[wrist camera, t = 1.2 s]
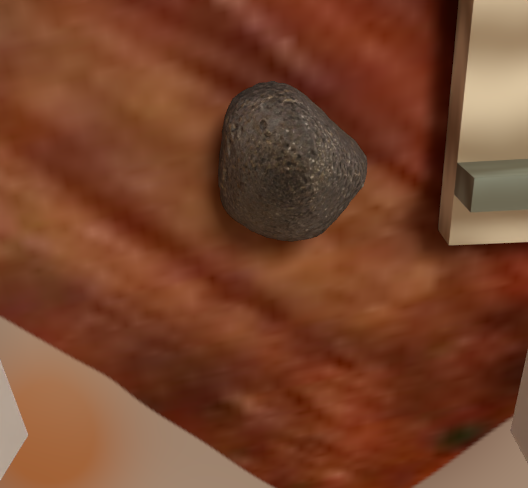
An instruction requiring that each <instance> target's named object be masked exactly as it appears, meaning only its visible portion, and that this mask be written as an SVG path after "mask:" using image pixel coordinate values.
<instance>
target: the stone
mask: <svg viewBox="0 0 528 488" xmlns="http://www.w3.org/2000/svg"><path fill="white" fill-rule="evenodd" d="M366 173H367V158H366V155H365V154H364V153H363V151H362V150H361V148H360V147H359V146H358V144H357V143H356V141H355V140H354V139H353V138H351V137H350V136H349V135H348V134H346V133H345V132H344V131H343V130H341V129H340V128H339V127H338V126H337V125H336V124H335V123H334V122H333V121H332V120H330V119H329V118H328V116H327V115H326V114H325V113H324V112H323V111H322V110H321V109H320V108H319V107H318V106H317V105H316V104H314V103H313V102H312V101H311V100H310V99H309V98H308V97H307V96H306V95H304V94H303V93H302V92H300V91H299V90H297V89H295V88H294V87H292V86H290V85H287V84H284V83H277V82H275V81H271V82H266V83H258V84H256V85H254V86H253V87H250V88H248V89H246V90H244V91H242V92H241V93H239V94H238V95H237V96H235V97H234V98H233V99H232V101H231V103H230V105H229V107H228V109H227V112H226V115H225V119H224V124H223V129H222V142H221V149H220V156H219V169H218V179H219V187H220V198H221V202H222V205H223V207H224V209H225V210H226V212H227V213H228V214H229V215H230V216H231V217H232V218H233V219H234V220H236V221H237V222H239V223H240V224H242V225H243V226H245V227H246V228H248V229H249V230H251V231H253V232H255V233H258V234H260V235H263V236H265V237H267V238H273V239H277V240H282V241H298V240H305V239H309V238H313V237H317V236H318V235H320V234H322V233H323V232H324V231H325V230H326V229H327V228H328V227H329V226H330V225H331V224H332V223H333V222H334V221H335V220H336V219H337V218H338V217H339V215H340V214H341V213H342V212H343V211H344V210H345V209H346V208H347V206H348V204H349V203H350V201H351V200H352V199H353V198H354V197H355V195H356V194H357V193H358V192H359V190H360V189H361V188H362V187H363V185H364V182H365V178H366Z"/></svg>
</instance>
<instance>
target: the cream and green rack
mask: <svg viewBox="0 0 528 488" xmlns="http://www.w3.org/2000/svg"><path fill="white" fill-rule="evenodd" d="M438 230H439V232H440V233H441V235H442V236H443V238H444V239H445V241H446V242H447V244H448V245H469V244H492V243H515V242H528V0H459V3H458V14H457V25H456V36H455V47H454V58H453V69H452V80H451V91H450V103H449V114H448V125H447V136H446V147H445V158H444V169H443V180H442V191H441V202H440V213H439V224H438Z"/></svg>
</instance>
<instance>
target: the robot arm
mask: <svg viewBox="0 0 528 488" xmlns="http://www.w3.org/2000/svg"><path fill="white" fill-rule="evenodd" d="M511 433H512V434H513V436H514V438H515V440H516V442H517V444H518V446H519V448H520V450H521V451H522V453H523V455H524V457H525V459H526V461H527V463H528V352H527V356H526V361H525V365H524V370H523V375H522V379H521V384H520V389H519V393H518V398H517V403H516V407H515V412H514V417H513V421H512V426H511ZM27 436H28V433H27V430H26V428H25V425H24V422H23V420H22V417H21V414H20V412H19V409H18V406H17V403H16V401H15V398H14V395H13V393H12V390H11V387H10V384H9V382H8V379H7V377H6V374H5V371H4V368H3V366H2V363H1V360H0V480H1V478H2V477H3V475H4V474H5V472H6V470H7V469H8V467H9V465H10V464H11V462H12V461H13V459H14V457H15V456H16V454H17V452H18V451H19V449H20V448H21V446H22V444H23V443H24V441H25V439H26V438H27Z"/></svg>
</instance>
